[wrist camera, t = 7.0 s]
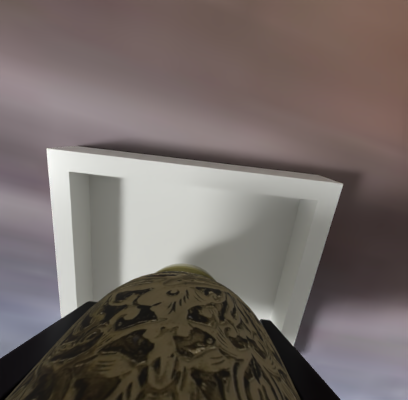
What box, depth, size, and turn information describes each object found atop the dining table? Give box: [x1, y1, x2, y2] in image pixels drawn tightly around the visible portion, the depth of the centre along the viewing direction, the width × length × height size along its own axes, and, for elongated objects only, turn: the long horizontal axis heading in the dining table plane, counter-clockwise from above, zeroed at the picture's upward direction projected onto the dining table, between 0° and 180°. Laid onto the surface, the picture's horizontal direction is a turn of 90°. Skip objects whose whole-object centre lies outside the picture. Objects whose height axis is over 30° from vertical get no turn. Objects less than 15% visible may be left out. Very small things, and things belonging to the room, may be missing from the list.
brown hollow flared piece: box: [5, 263, 300, 400], centre depth 6 cm, size 8×7×8 cm
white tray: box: [47, 146, 343, 346], centre depth 11 cm, size 12×12×2 cm
